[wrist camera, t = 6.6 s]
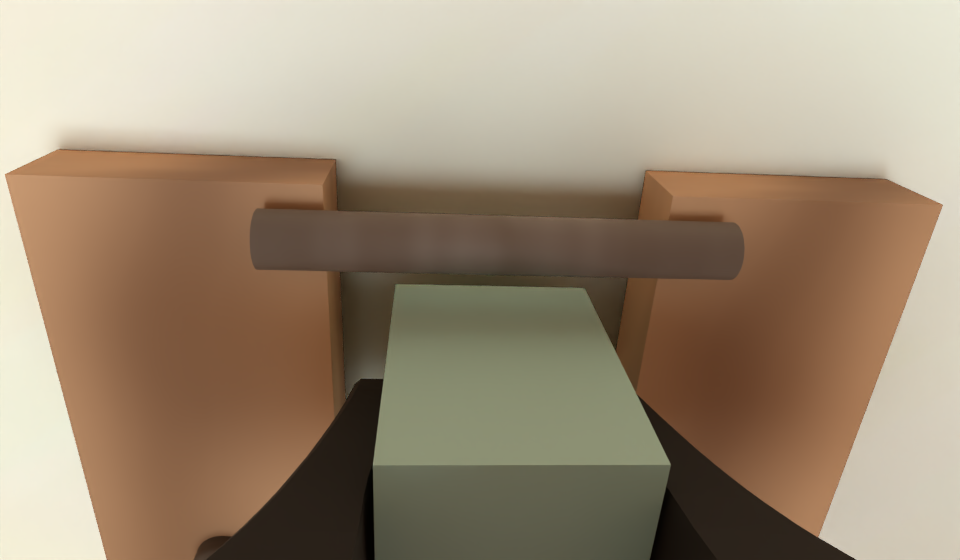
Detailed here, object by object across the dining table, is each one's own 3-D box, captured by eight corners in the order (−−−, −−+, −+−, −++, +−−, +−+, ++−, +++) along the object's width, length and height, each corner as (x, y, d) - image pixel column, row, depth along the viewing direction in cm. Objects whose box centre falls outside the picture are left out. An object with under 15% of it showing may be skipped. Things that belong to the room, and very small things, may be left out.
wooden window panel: (887, 179, 13) (985, 224, 11) (767, 541, 17) (819, 629, 15) (57, 150, 12) (-36, 193, 9) (147, 548, 16) (98, 646, 14)
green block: (584, 287, 12) (670, 464, 8) (564, 438, 14) (627, 660, 9) (395, 284, 12) (372, 465, 8) (395, 438, 14) (376, 667, 9)
